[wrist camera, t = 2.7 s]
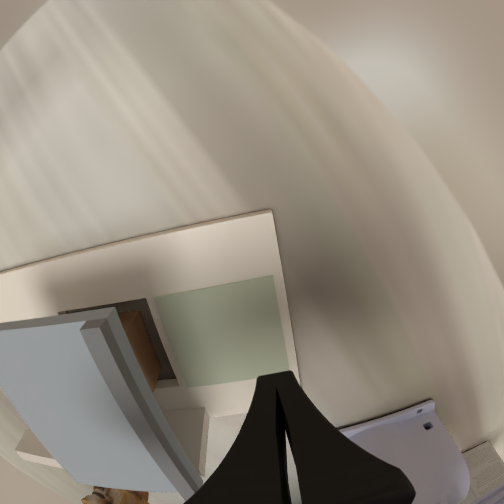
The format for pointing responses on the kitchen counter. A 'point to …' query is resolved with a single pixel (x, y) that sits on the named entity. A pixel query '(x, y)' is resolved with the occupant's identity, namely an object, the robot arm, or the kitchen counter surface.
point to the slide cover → (92, 403)
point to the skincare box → (483, 471)
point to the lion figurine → (116, 496)
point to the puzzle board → (178, 313)
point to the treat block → (141, 346)
